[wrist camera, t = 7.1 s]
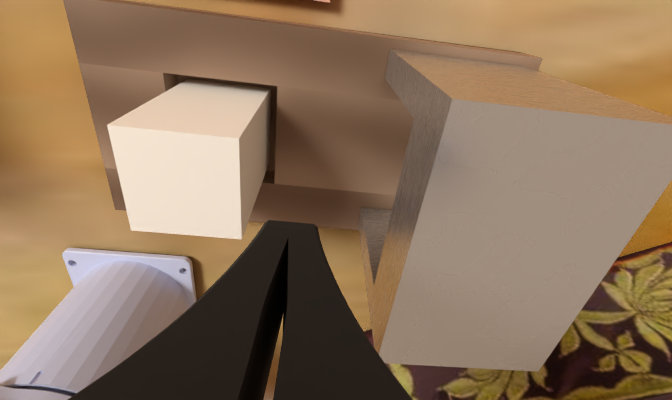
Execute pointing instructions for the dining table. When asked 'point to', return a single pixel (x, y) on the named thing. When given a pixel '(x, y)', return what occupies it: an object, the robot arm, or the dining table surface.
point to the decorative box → (582, 347)
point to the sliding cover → (503, 210)
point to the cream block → (194, 158)
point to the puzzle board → (286, 96)
